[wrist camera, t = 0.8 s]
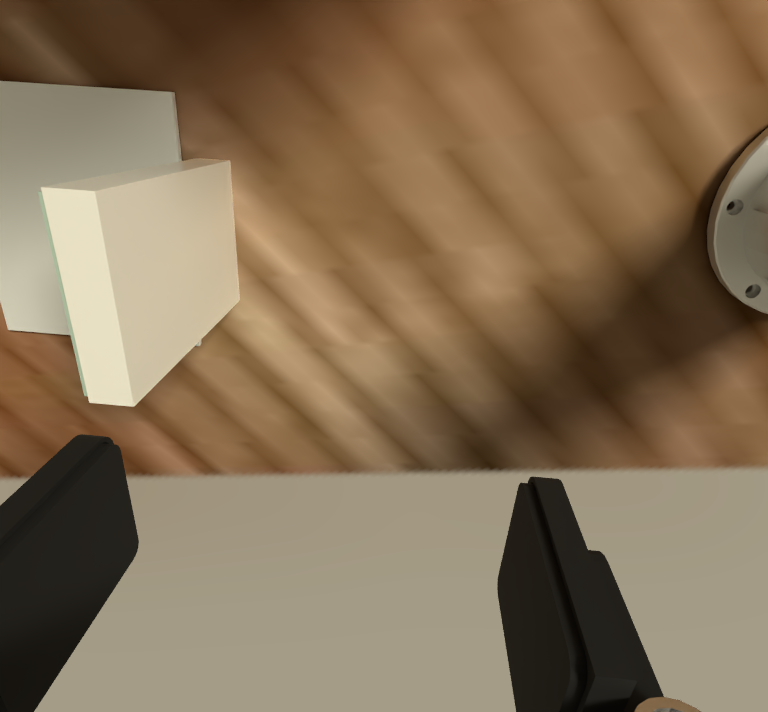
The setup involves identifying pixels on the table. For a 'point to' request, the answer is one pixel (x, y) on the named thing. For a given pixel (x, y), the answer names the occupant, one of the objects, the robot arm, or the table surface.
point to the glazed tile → (142, 269)
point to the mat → (65, 175)
